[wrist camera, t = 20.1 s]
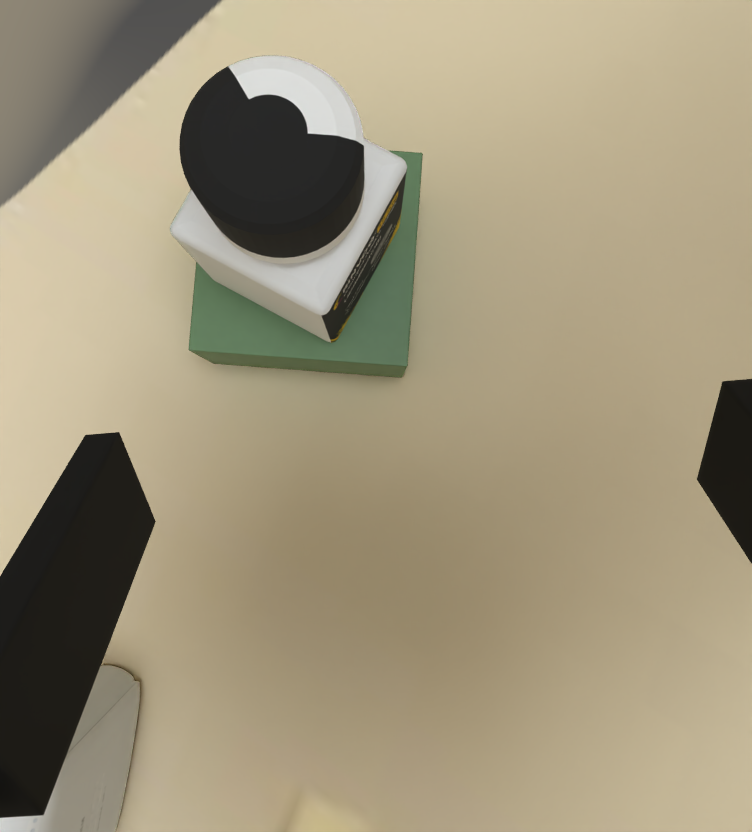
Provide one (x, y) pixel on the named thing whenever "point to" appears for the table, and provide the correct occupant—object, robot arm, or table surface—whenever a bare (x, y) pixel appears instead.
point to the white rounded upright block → (92, 762)
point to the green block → (301, 350)
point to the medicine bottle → (286, 191)
